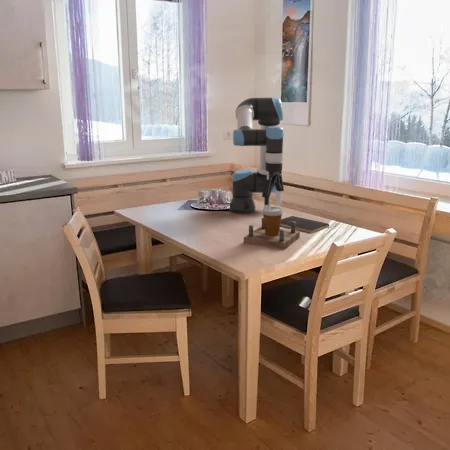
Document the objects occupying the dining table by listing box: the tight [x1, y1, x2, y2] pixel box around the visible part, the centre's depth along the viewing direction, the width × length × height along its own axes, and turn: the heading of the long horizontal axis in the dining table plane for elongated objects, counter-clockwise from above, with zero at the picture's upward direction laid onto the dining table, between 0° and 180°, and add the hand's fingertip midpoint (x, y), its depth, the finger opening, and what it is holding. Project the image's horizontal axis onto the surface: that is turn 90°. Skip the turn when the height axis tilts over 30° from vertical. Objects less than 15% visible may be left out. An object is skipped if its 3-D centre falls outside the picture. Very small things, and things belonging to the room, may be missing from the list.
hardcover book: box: [280, 215, 330, 234], centre depth 256 cm, size 16×23×2 cm
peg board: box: [243, 217, 301, 250], centre depth 231 cm, size 20×20×8 cm
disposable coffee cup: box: [261, 206, 284, 236], centre depth 230 cm, size 10×10×12 cm
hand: (272, 208), depth 228 cm, fingers open, 13 cm apart
